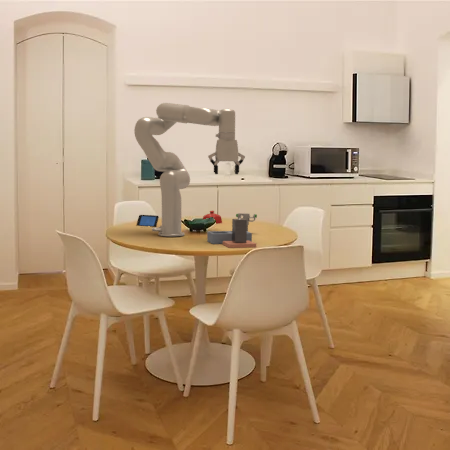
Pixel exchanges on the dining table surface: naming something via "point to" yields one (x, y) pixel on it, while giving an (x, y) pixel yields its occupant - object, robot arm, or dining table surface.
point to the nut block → (239, 230)
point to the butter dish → (215, 216)
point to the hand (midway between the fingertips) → (226, 174)
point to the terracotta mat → (239, 244)
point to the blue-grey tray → (223, 236)
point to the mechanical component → (246, 217)
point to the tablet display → (147, 220)
